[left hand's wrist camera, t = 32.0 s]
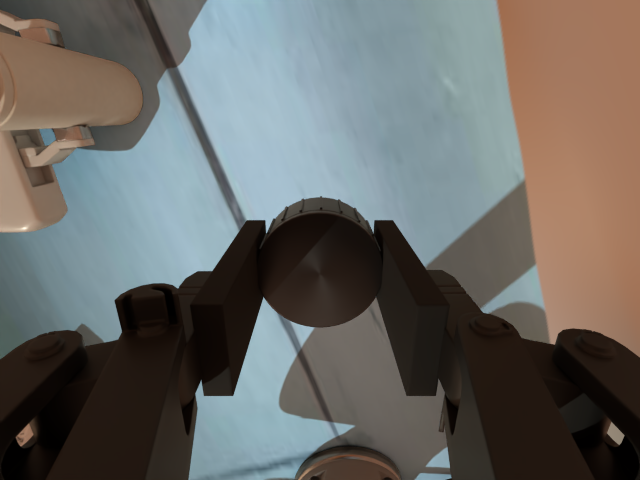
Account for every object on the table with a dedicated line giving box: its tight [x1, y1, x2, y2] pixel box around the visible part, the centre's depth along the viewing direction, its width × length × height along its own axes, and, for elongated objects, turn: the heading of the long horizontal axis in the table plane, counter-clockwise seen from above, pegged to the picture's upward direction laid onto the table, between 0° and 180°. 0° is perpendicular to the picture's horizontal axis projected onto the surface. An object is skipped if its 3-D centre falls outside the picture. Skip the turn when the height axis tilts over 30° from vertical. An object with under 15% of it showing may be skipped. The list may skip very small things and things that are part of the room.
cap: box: [257, 196, 383, 327], centre depth 13 cm, size 5×5×2 cm
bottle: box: [0, 32, 143, 131], centre depth 22 cm, size 5×5×19 cm
